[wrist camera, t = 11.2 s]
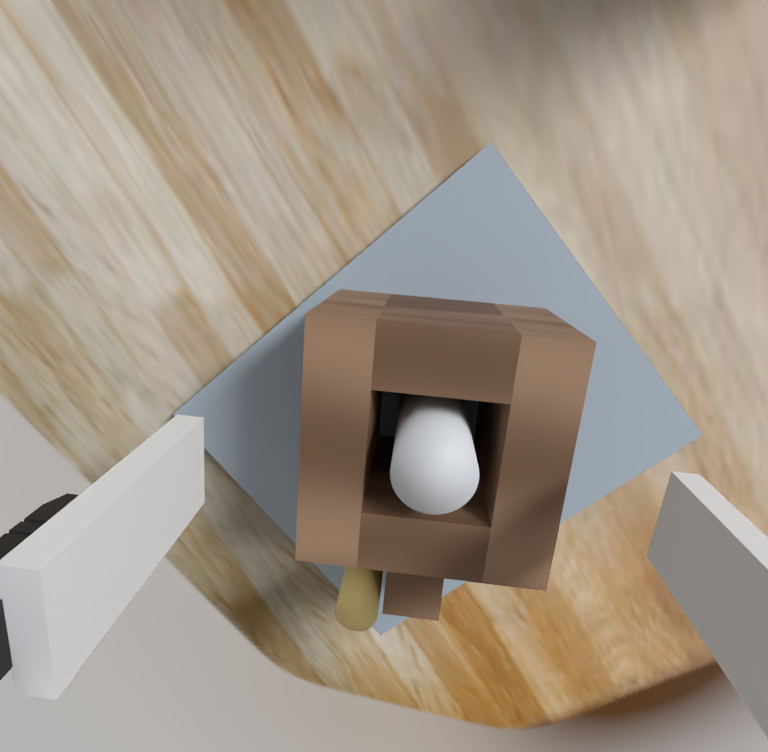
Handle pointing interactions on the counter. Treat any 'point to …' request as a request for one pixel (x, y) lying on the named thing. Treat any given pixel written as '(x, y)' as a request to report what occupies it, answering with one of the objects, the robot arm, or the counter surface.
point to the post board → (455, 267)
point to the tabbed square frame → (491, 443)
